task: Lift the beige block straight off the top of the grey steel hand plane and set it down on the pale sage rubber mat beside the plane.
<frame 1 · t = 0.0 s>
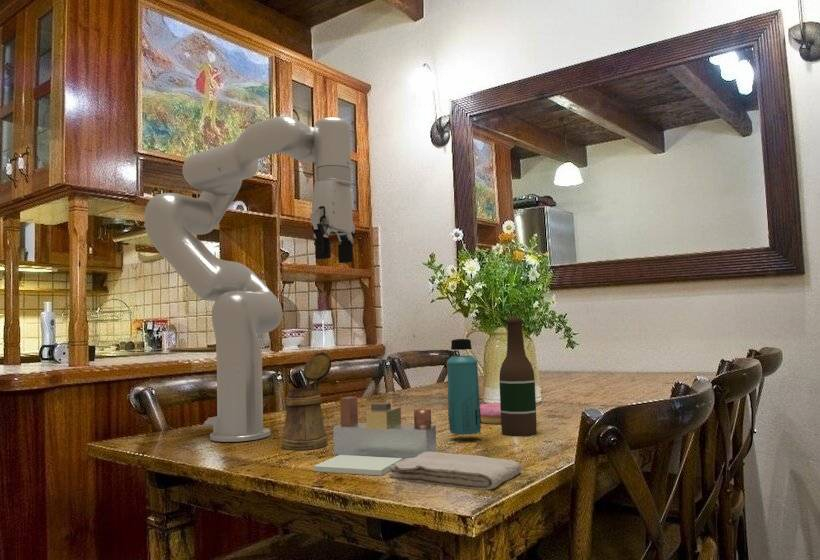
hand: (334, 260, 130), 37 cm above the table, tool pointing down, fingers open, 9 cm apart
doughnut: (498, 422, 148), on the table
beige block: (384, 426, 114), point 5 cm above the table, touching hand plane
beverage bottle: (465, 440, 126), on the table
mat: (358, 467, 104), on the table
washcloth: (454, 480, 96), on the table
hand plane: (384, 454, 114), on the table
wooden utensil holder: (310, 444, 126), on the table
beer bottle: (519, 434, 131), on the table
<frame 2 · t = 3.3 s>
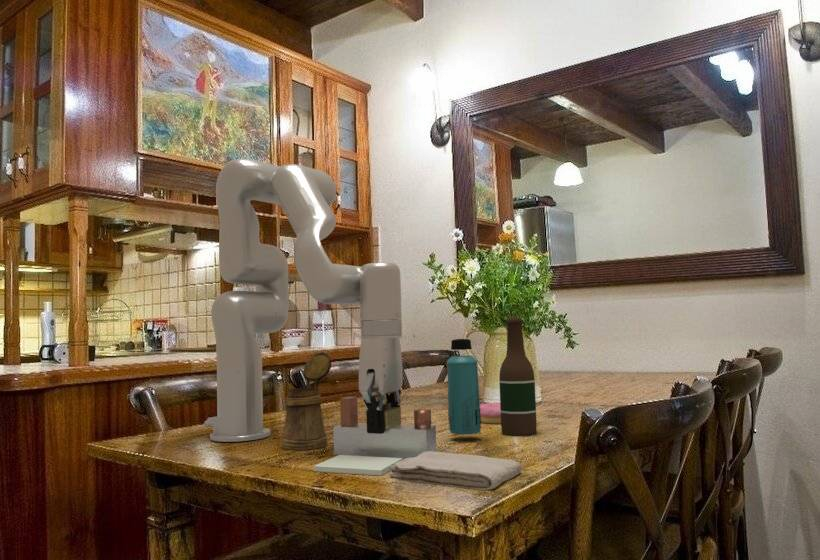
hand: (384, 428, 114), 4 cm above the table, tool pointing down, fingers closed on beige block, 6 cm apart
beige block: (384, 426, 114), point 5 cm above the table, touching gripper, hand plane
everything else where it was.
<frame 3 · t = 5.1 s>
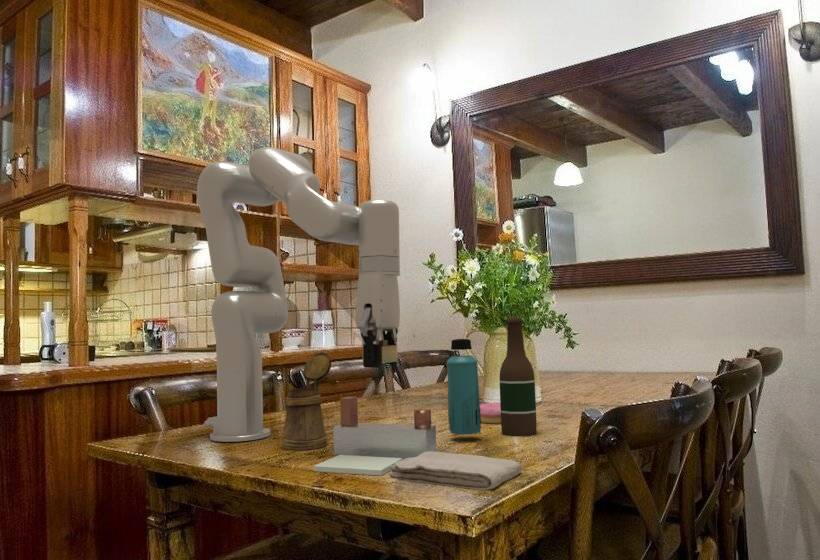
hand: (380, 365, 115), 16 cm above the table, tool pointing down, fingers closed on beige block, 6 cm apart
beige block: (380, 362, 115), point 16 cm above the table, touching gripper
everything else where it was.
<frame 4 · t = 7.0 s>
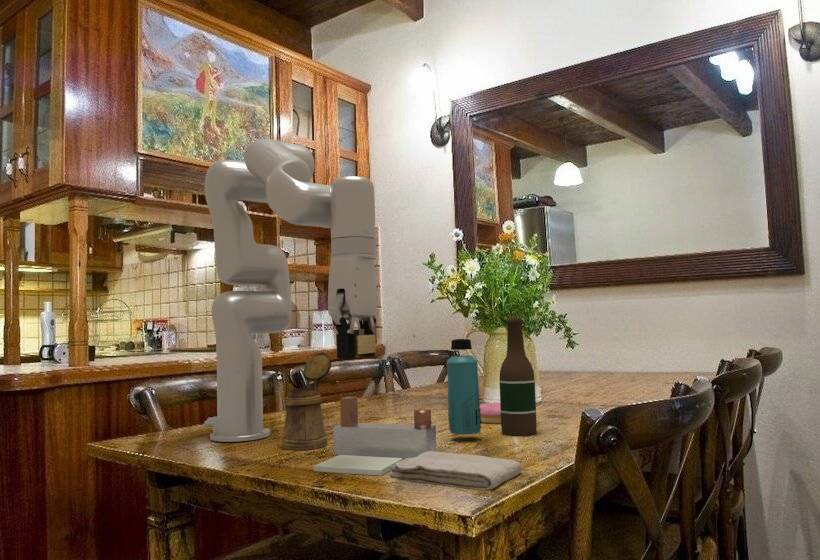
hand: (356, 356, 105), 18 cm above the table, tool pointing down, fingers closed on beige block, 6 cm apart
beige block: (356, 353, 105), point 19 cm above the table, touching gripper
everything else where it was.
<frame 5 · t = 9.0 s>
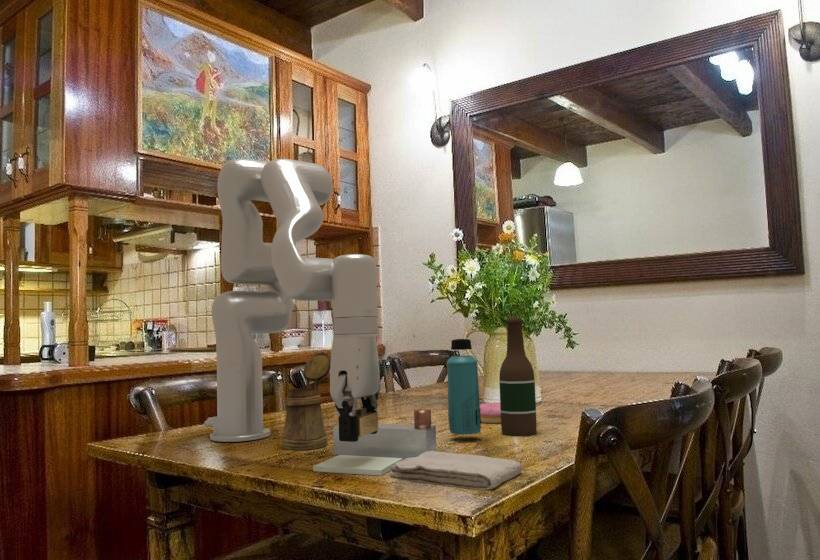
hand: (358, 436, 104), 5 cm above the table, tool pointing down, fingers closed on beige block, 6 cm apart
beige block: (358, 433, 104), point 6 cm above the table, touching gripper
everything else where it was.
when the fingers open (3 cm above the table, at t = 10.6 s): beige block drops 2 cm, resting on mat.
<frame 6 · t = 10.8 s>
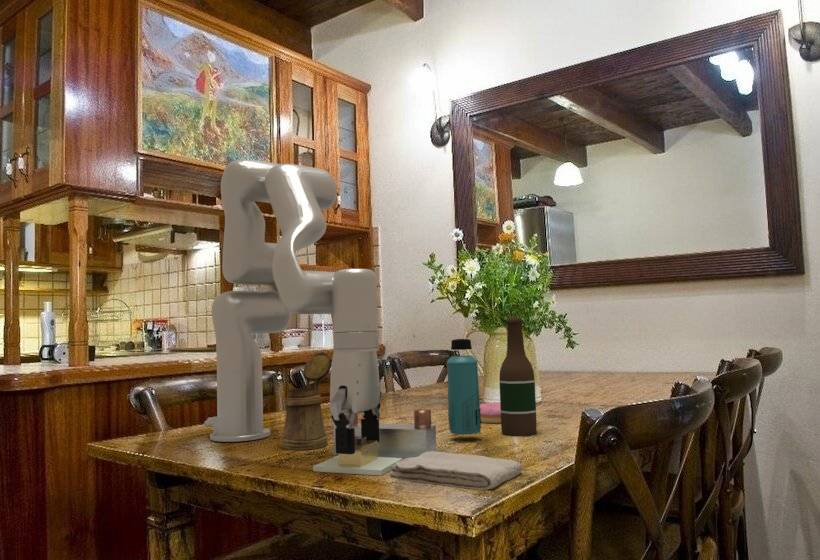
hand: (358, 447, 104), 3 cm above the table, tool pointing down, fingers open, 8 cm apart
beige block: (358, 462, 104), point 1 cm above the table, touching mat
everything else where it was.
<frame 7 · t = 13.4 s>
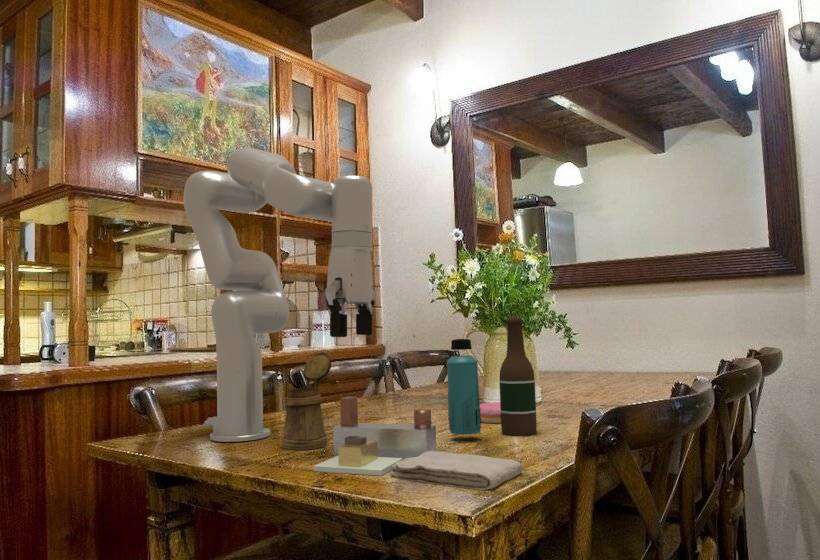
hand: (351, 335, 116), 21 cm above the table, tool pointing down, fingers open, 9 cm apart
nothing on the table moved.
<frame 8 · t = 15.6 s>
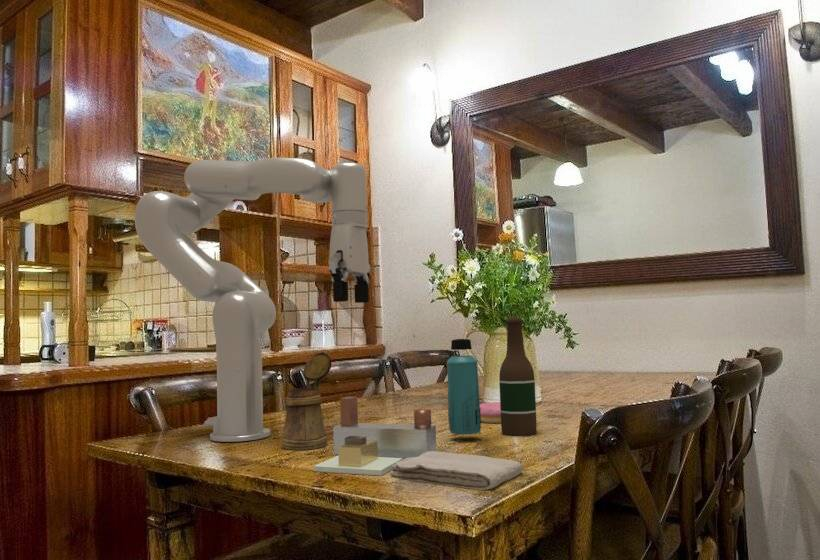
hand: (351, 301, 133), 28 cm above the table, tool pointing down, fingers open, 9 cm apart
at the end: beige block inside the target area on the mat (0.0 cm from its centre), point 0.8 cm above the mat's base; beige block touching mat; beige block tilted 0° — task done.
